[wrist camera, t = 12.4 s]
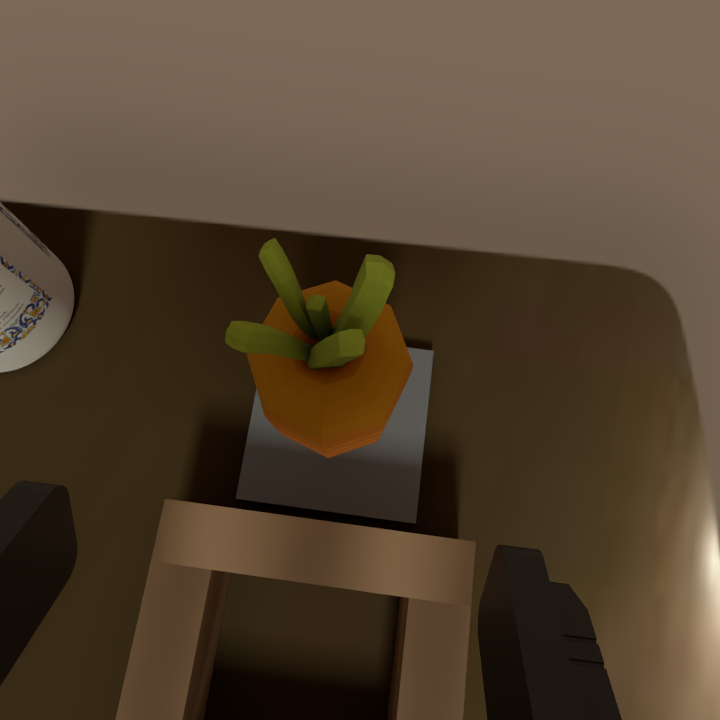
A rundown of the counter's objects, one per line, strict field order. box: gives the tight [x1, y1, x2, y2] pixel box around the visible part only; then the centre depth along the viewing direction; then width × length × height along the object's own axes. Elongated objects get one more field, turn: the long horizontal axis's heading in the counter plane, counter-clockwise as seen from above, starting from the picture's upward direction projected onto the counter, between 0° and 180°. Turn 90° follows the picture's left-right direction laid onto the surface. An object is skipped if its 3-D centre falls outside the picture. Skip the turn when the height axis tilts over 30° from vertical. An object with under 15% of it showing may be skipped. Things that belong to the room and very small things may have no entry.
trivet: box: [236, 347, 434, 524], centre depth 28 cm, size 8×8×1 cm
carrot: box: [225, 238, 413, 458], centre depth 20 cm, size 5×5×15 cm
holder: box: [116, 499, 476, 720], centre depth 23 cm, size 12×12×4 cm
